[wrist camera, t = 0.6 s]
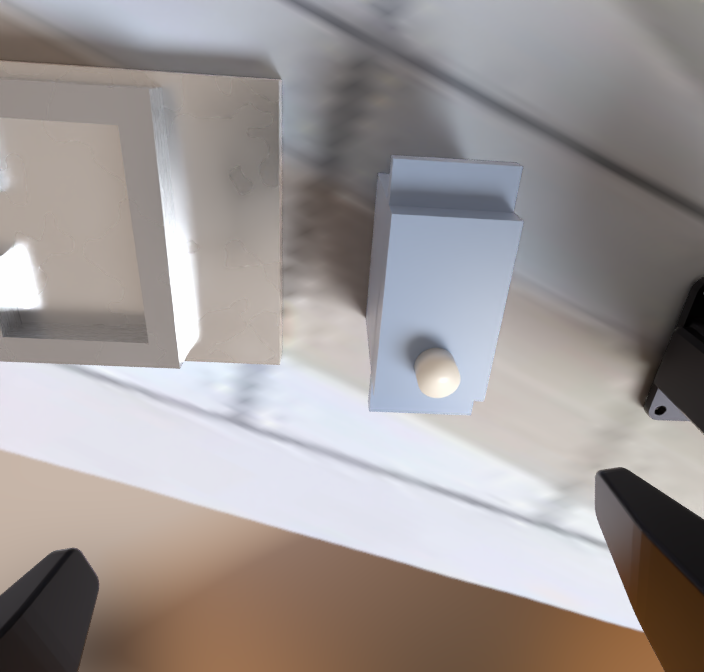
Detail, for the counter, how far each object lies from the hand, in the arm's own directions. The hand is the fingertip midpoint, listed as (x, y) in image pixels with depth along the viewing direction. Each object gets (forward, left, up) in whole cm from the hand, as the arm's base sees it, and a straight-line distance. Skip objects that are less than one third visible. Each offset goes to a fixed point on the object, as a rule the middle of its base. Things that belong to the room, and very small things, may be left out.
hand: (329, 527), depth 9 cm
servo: (-3, -1, -12) cm, 13 cm away
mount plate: (+8, -1, -12) cm, 15 cm away
